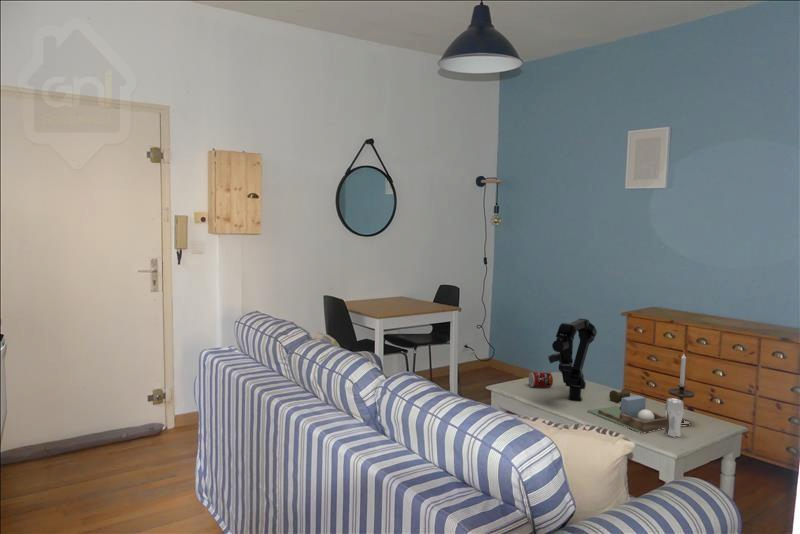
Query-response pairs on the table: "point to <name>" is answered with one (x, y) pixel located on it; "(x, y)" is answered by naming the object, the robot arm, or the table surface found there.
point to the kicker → (632, 405)
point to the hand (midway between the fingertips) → (565, 380)
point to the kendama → (618, 395)
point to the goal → (630, 419)
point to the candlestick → (682, 385)
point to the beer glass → (673, 416)
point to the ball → (645, 415)
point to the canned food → (540, 379)
